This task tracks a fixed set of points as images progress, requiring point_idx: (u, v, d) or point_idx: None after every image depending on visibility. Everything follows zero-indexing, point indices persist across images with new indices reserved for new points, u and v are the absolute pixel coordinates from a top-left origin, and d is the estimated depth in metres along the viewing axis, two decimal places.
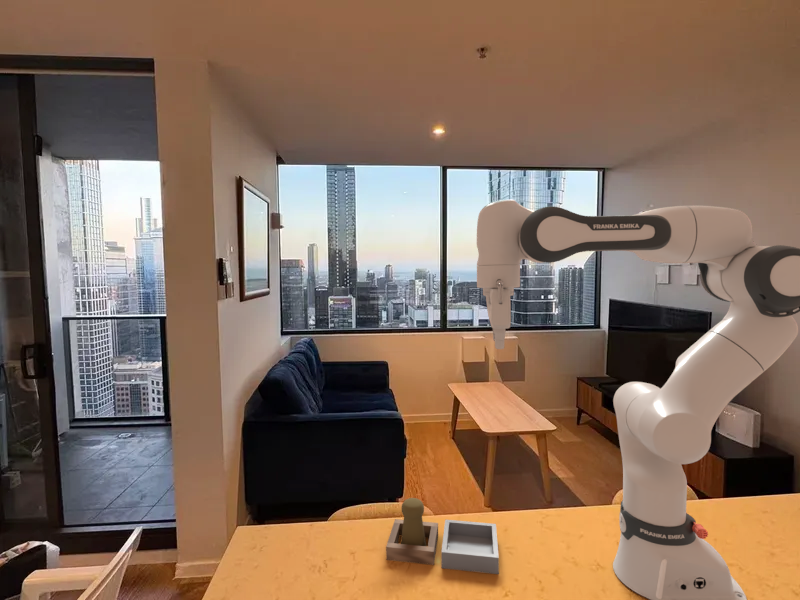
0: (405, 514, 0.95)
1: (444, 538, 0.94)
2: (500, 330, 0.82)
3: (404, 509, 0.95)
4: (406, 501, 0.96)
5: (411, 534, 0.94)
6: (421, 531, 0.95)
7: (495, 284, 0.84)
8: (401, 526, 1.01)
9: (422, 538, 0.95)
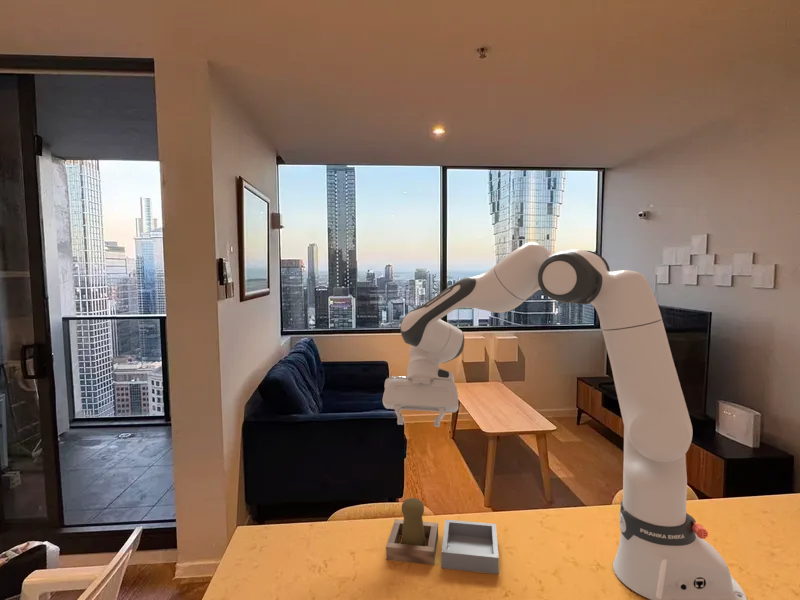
0: (405, 514, 0.95)
1: (444, 538, 0.94)
2: (395, 409, 1.11)
3: (404, 509, 0.95)
4: (406, 501, 0.96)
5: (411, 534, 0.94)
6: (421, 531, 0.95)
7: None
8: (401, 526, 1.01)
9: (422, 538, 0.95)
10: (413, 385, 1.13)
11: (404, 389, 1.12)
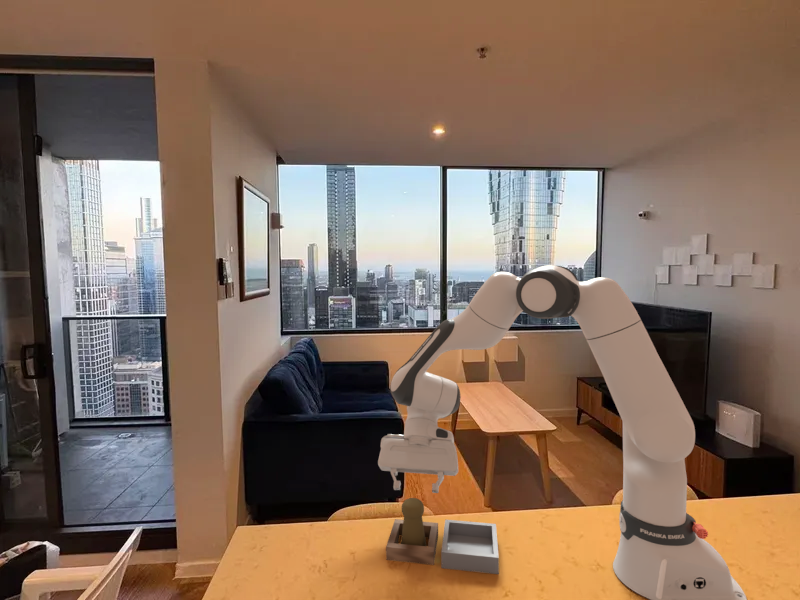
0: (405, 514, 0.95)
1: (444, 538, 0.94)
2: (391, 472, 1.05)
3: (404, 509, 0.95)
4: (406, 501, 0.96)
5: (411, 534, 0.94)
6: (421, 531, 0.95)
7: None
8: (401, 526, 1.01)
9: (422, 538, 0.95)
10: (410, 446, 1.07)
11: (401, 450, 1.07)
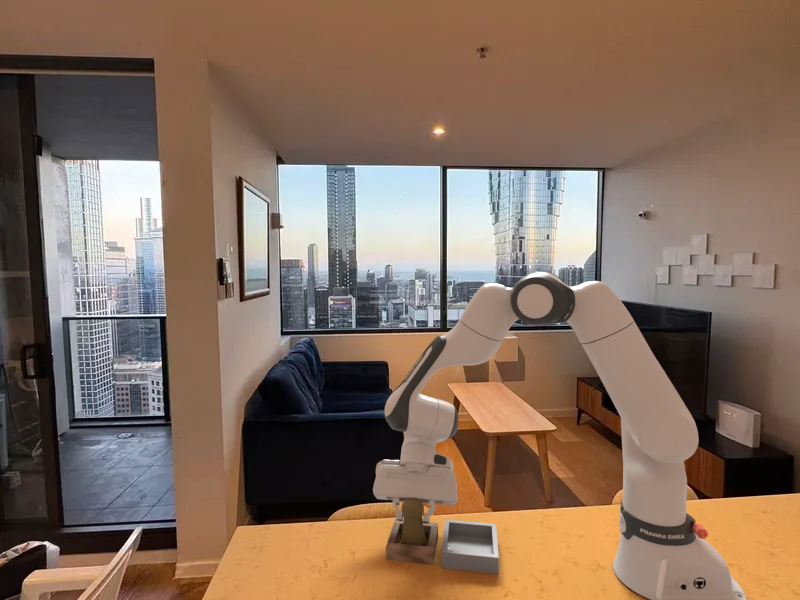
0: (405, 514, 0.95)
1: (444, 538, 0.94)
2: None
3: (404, 509, 0.95)
4: (406, 501, 0.96)
5: (411, 534, 0.94)
6: (421, 531, 0.95)
7: None
8: (401, 526, 1.01)
9: (422, 538, 0.95)
10: (407, 472, 1.02)
11: (397, 477, 1.01)
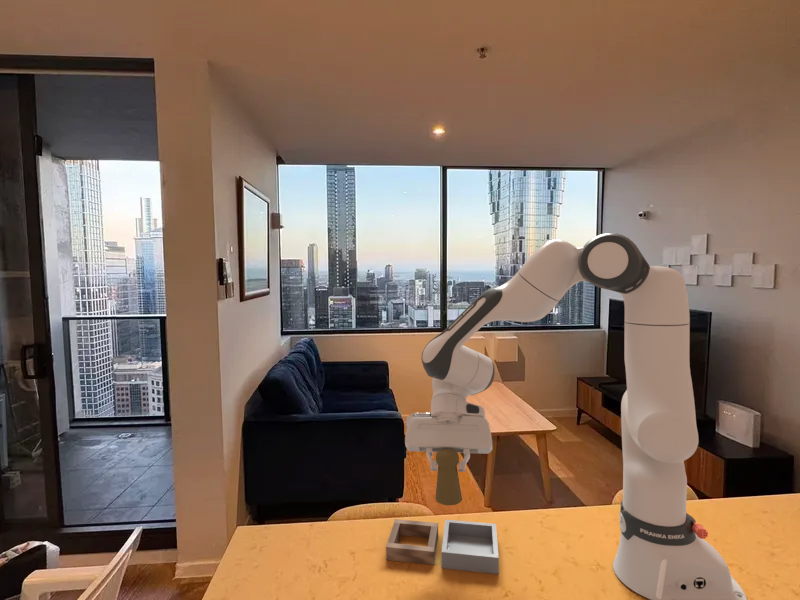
0: (440, 463, 0.92)
1: (444, 538, 0.94)
2: None
3: (439, 458, 0.92)
4: (440, 451, 0.94)
5: (447, 484, 0.92)
6: (457, 481, 0.93)
7: None
8: (401, 526, 1.01)
9: (458, 488, 0.93)
10: (439, 423, 0.99)
11: (429, 428, 0.99)
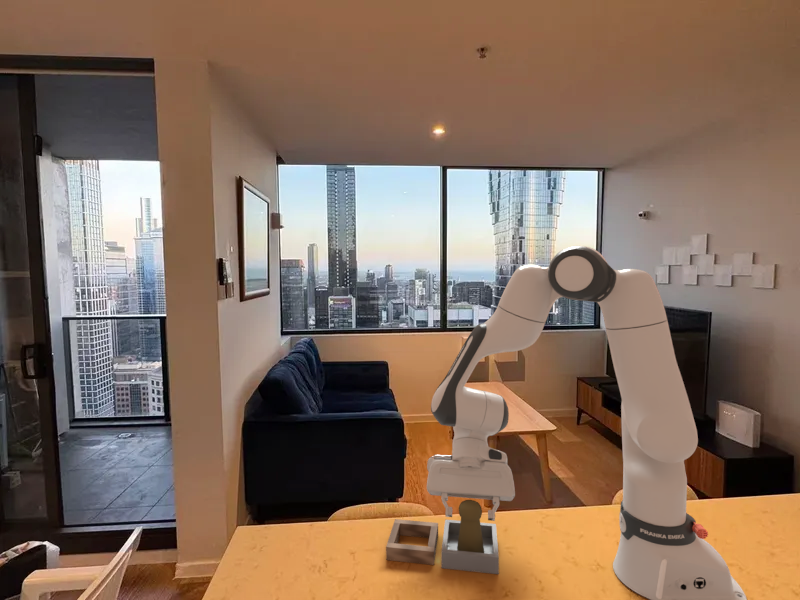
0: (463, 516, 0.92)
1: (444, 538, 0.94)
2: None
3: (462, 511, 0.92)
4: (463, 503, 0.94)
5: (470, 537, 0.92)
6: (479, 534, 0.93)
7: None
8: (401, 526, 1.01)
9: (480, 541, 0.93)
10: (461, 468, 0.99)
11: (451, 473, 0.99)
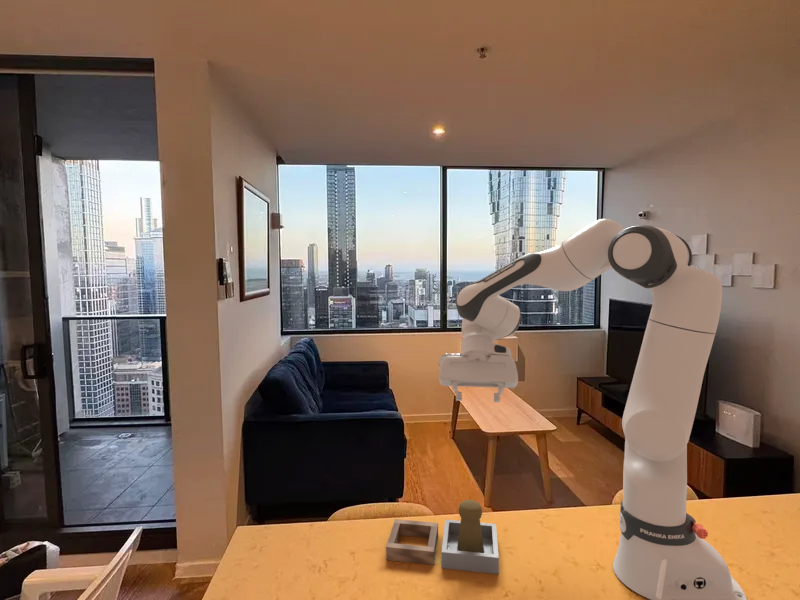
0: (463, 516, 0.92)
1: (444, 538, 0.94)
2: (452, 385, 1.08)
3: (462, 511, 0.92)
4: (463, 503, 0.94)
5: (470, 537, 0.92)
6: (479, 534, 0.93)
7: None
8: (401, 526, 1.01)
9: (480, 541, 0.93)
10: (469, 361, 1.10)
11: (460, 365, 1.10)
